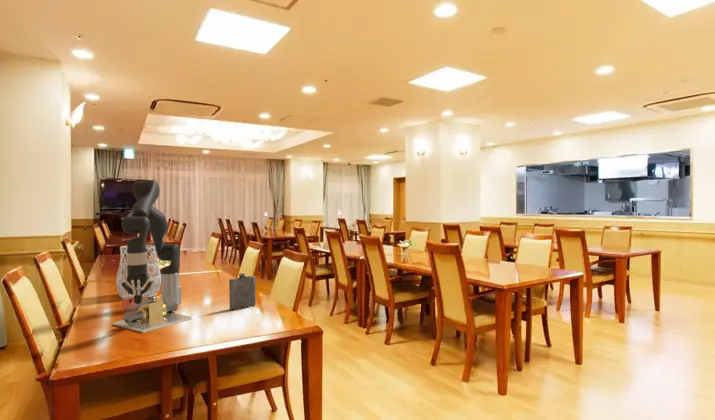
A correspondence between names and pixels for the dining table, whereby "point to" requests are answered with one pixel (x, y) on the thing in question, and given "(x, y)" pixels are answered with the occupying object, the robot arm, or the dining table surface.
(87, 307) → the dining table surface
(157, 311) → the valve
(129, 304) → the lever
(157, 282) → the vase
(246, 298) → the flask
